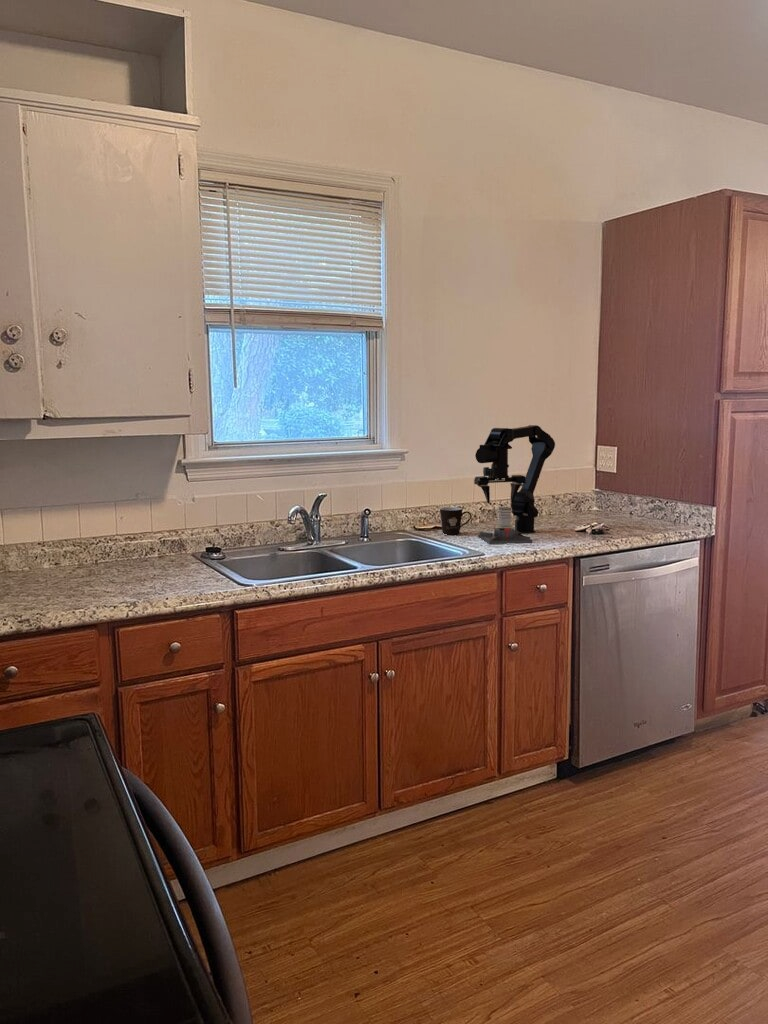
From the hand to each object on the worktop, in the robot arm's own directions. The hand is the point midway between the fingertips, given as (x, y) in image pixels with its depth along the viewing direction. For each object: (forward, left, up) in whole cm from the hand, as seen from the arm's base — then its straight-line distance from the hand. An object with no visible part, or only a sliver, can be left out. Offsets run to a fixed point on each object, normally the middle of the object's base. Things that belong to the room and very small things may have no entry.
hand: (500, 502), depth 294 cm
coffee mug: (+16, -7, -13) cm, 22 cm away
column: (+1, +8, -8) cm, 11 cm away
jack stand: (+1, +8, -13) cm, 15 cm away
